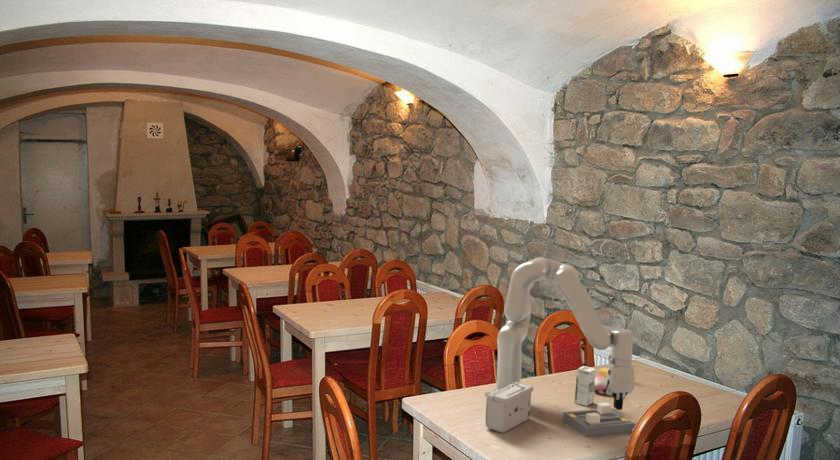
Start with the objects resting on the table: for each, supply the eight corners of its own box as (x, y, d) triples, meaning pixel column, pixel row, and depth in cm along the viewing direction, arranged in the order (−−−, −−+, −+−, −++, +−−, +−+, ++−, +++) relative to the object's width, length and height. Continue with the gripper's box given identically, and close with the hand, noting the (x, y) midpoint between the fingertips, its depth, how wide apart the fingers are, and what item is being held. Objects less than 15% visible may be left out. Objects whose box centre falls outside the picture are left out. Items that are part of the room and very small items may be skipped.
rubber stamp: (598, 377, 301) (599, 352, 300) (604, 375, 305) (606, 349, 304) (617, 383, 294) (619, 357, 293) (624, 380, 298) (626, 354, 297)
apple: (607, 390, 284) (608, 373, 283) (611, 396, 276) (612, 379, 276) (588, 388, 285) (589, 372, 284) (591, 394, 277) (592, 378, 276)
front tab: (590, 424, 236) (590, 416, 235) (585, 421, 239) (586, 413, 238) (599, 423, 237) (600, 415, 237) (595, 420, 240) (595, 412, 240)
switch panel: (586, 436, 233) (586, 426, 232) (563, 419, 248) (563, 410, 247) (634, 431, 239) (634, 421, 239) (608, 415, 254) (609, 406, 254)
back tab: (601, 414, 246) (602, 406, 246) (597, 411, 249) (597, 403, 249) (610, 413, 248) (611, 405, 247) (606, 410, 251) (606, 402, 250)
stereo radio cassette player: (514, 413, 253) (516, 363, 251) (533, 419, 247) (535, 367, 245) (483, 429, 236) (486, 375, 234) (503, 435, 231) (506, 380, 229)
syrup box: (580, 399, 271) (582, 365, 269) (593, 403, 267) (596, 368, 266) (574, 403, 266) (576, 368, 265) (587, 406, 263) (590, 371, 261)
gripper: (610, 366, 243) (606, 414, 244) (643, 363, 247) (640, 410, 249) (598, 360, 250) (595, 406, 252) (631, 357, 255) (628, 403, 256)
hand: (617, 408), depth 250 cm, fingers closed
